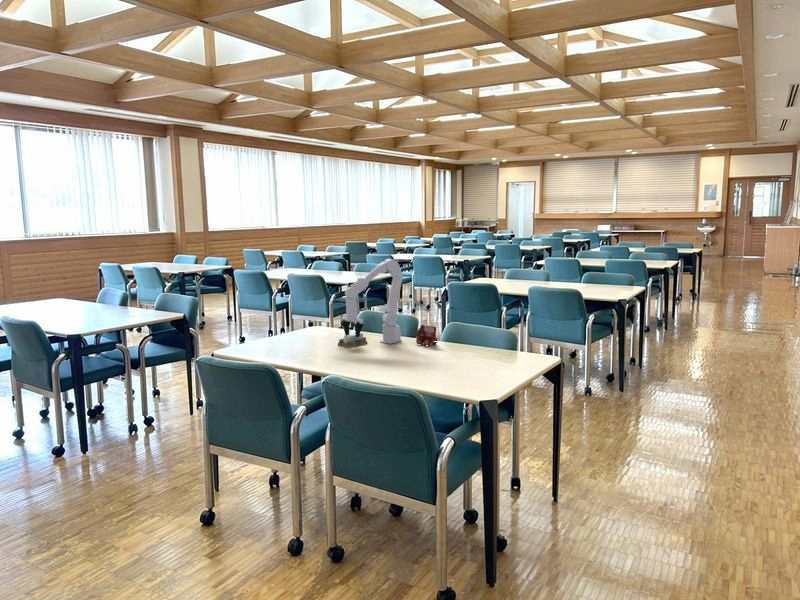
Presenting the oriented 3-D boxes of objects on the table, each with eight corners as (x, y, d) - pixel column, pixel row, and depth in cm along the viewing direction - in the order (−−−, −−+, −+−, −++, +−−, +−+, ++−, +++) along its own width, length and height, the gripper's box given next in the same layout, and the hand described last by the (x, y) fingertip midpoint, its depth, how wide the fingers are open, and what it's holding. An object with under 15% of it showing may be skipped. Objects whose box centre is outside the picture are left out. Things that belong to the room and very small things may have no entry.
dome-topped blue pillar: (357, 339, 315) (357, 332, 315) (363, 340, 313) (362, 333, 312) (341, 343, 306) (341, 336, 305) (347, 344, 304) (346, 337, 303)
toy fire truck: (421, 342, 313) (421, 322, 311) (440, 345, 305) (440, 325, 303) (413, 344, 308) (412, 324, 306) (431, 347, 299) (431, 327, 298)
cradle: (353, 341, 317) (353, 335, 317) (367, 343, 311) (367, 337, 311) (337, 345, 308) (337, 339, 308) (351, 347, 302) (351, 341, 301)
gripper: (336, 310, 309) (337, 335, 311) (356, 312, 299) (357, 338, 301) (345, 308, 314) (346, 333, 316) (365, 310, 305) (366, 336, 307)
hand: (352, 335), depth 309 cm, fingers open, 7 cm apart
